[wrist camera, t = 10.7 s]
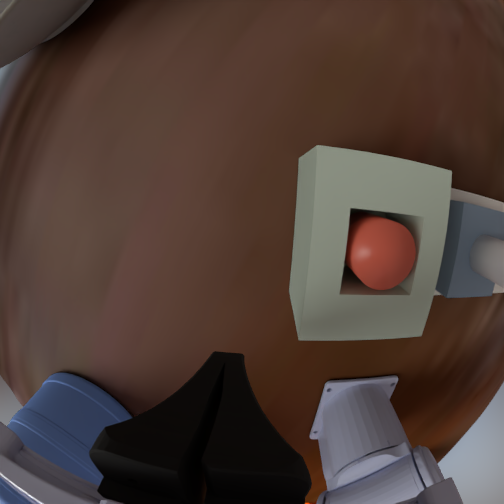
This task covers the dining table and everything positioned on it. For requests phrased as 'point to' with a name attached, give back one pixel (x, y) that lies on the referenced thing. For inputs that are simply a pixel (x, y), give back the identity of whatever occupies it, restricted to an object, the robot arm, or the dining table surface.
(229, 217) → the dining table surface
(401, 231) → the plunger
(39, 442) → the water jug
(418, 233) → the track
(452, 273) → the carriage
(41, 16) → the decorative bowl
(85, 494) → the robot arm
